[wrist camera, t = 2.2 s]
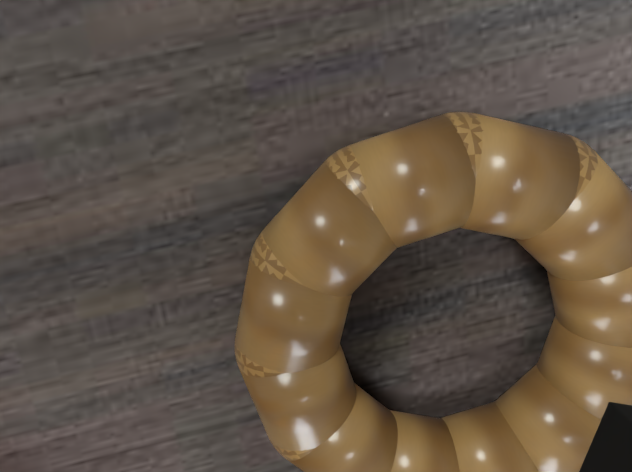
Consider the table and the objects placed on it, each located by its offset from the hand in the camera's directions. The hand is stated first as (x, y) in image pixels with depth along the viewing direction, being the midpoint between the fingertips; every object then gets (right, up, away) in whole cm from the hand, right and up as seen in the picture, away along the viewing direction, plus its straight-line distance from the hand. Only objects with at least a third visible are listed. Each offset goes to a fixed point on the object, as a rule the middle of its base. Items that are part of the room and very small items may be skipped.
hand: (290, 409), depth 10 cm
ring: (+4, +1, +5) cm, 7 cm away
